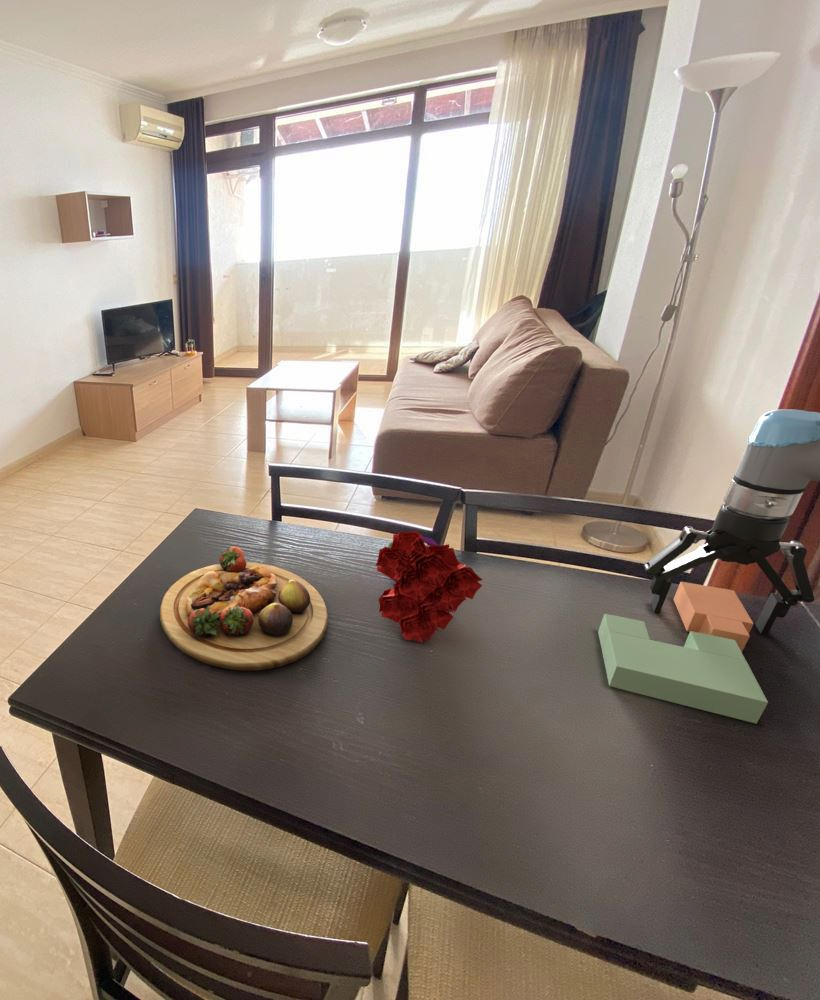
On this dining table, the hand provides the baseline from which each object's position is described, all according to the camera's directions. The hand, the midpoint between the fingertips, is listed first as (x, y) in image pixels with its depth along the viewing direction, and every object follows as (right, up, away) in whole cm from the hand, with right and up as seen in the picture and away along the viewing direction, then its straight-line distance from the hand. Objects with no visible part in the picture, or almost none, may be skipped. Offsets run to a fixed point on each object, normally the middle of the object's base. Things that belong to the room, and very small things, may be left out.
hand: (706, 619), depth 93 cm
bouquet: (-45, +2, +14) cm, 47 cm away
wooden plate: (-79, -2, +12) cm, 80 cm away
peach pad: (-1, -1, -2) cm, 2 cm away
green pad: (-16, -6, -10) cm, 20 cm away
